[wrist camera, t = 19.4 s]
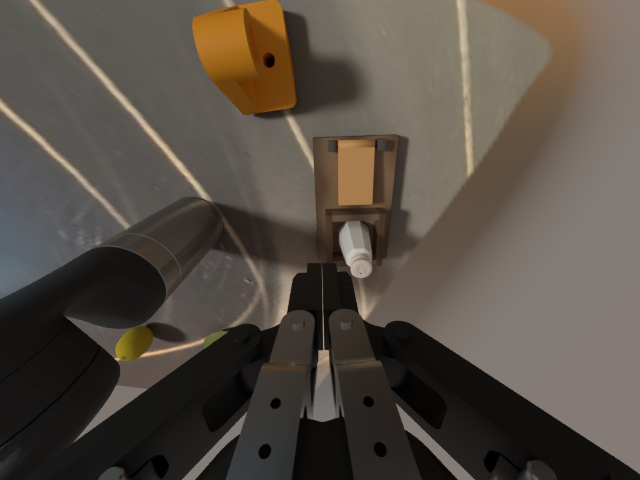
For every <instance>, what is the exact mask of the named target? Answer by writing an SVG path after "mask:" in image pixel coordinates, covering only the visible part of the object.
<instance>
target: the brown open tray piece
mask: <svg viewBox="0 0 640 480" xmlns="http://www.w3.org/2000/svg"><path fill="white" fill-rule="evenodd" d="M398 137H399V135H395V134H393V135H366V136H340V137H314V138H313V154H314V176H315V198H316V220H317V241H318V260H327V263H336V266H348V265H347V264H346V261H345V259H344V256H343V253H342V250H341V247H340V244H339V241H338V228H339V227H340V226H341V225H342V224H343V223H344V222H345V221H361V222H362V223H364V224H365V225H366V226H367V227H368V230H369V236H370V243H371V250H372V262H371V264H372V266H375V265H382V258H386V255H387V245H388V235H389V225H390V216H391V206H392V196H393V186H394V176H395V166H396V156H397V147H398ZM360 139H375V152H374V176H373V200H372V204H369V205H338V140H360Z"/></svg>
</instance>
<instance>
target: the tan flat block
mask: <svg viewBox="0 0 640 480" xmlns="http://www.w3.org/2000/svg"><path fill="white" fill-rule="evenodd" d="M374 152H375V139H360V140H338V205H369V204H372V200H373V176H374Z"/></svg>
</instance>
